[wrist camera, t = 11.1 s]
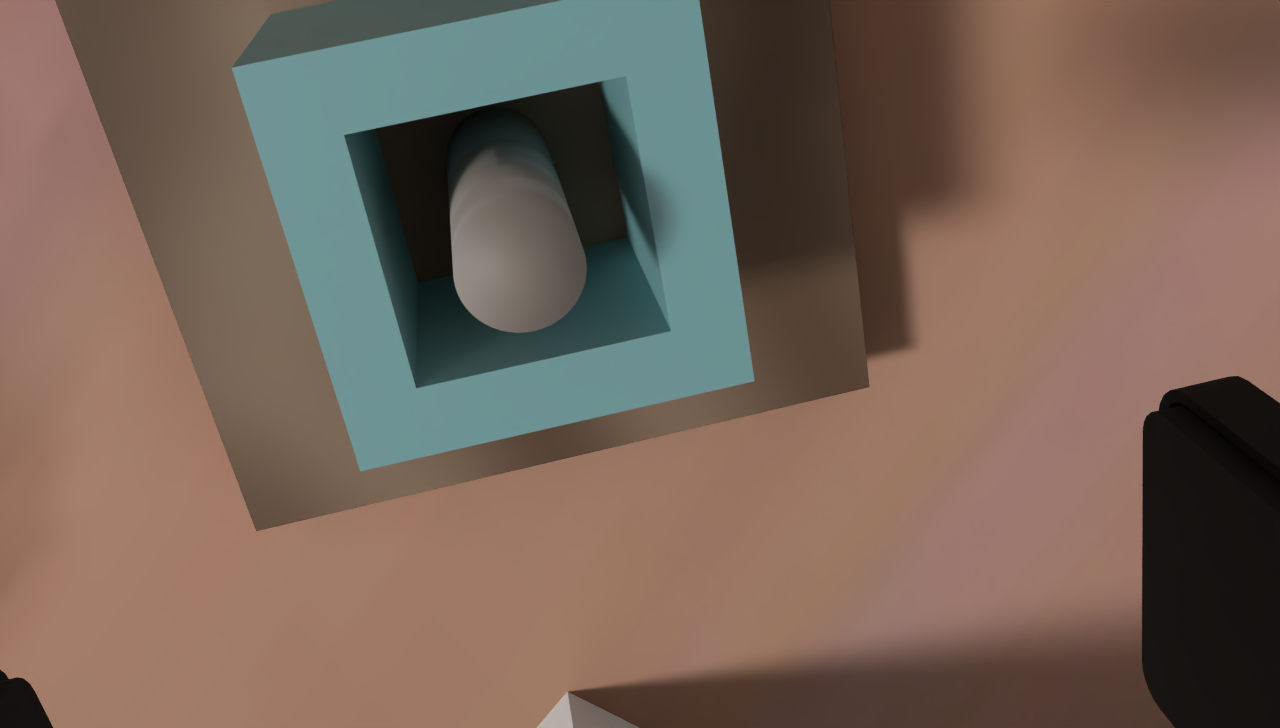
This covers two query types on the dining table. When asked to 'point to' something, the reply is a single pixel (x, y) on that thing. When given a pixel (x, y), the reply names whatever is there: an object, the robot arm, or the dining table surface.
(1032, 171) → the dining table surface
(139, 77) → the post base
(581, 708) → the milk
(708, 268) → the collar
